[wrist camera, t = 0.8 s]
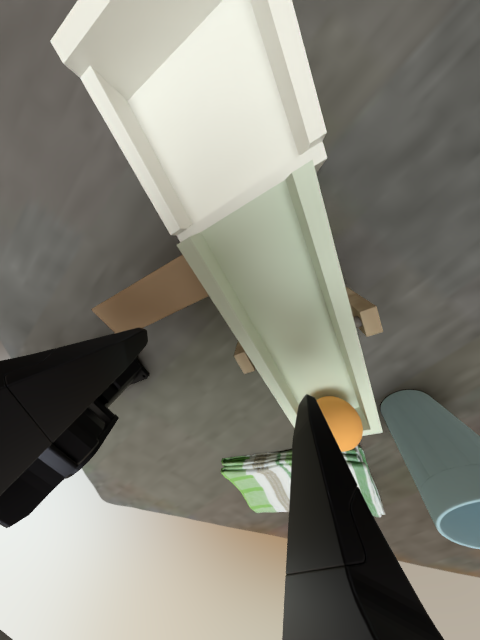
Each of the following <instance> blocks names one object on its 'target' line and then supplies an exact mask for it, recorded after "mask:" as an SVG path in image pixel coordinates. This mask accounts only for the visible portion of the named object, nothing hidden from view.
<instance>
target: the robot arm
mask: <svg viewBox="0 0 480 640" xmlns="http://www.w3.org/2000/svg"><path fill="white" fill-rule="evenodd" d="M147 342H148V338H147V331H146V330H145V329H143V328H140V327H138V328H134V329H130V330H126V331H122V332H118V333H114V334H111V335H107V336H103V337H99V338H95V339H91V340H87V341H83V342H79V343H75V344H71V345H67V346H63V347H59V348H57V349H56V348H55V349H51V350H47V351H43V352H39V353H35V354H31V355H26V356H22V357H17V358H12V359H8V360H3V361H0V525H2V526H4V527H6V528H7V527H10V526H12V525H13V524H15V523H17V522H18V521H20V520H21V519H23V518H25V517H26V516H28V515H29V514H30V513H31V512H32V511H33V510H34V509H35V508H36V507H37V506H38V505H39V504H40V502H41V501H42V500H43V499H44V498H45V497H46V496H47V495H48V494H49V493H50V492H51V491H52V490H53V489H54V488H55V487H56V486H57V485H58V484H59V483H60V482H61V481H62V480H64V479H65V478H69V477H70V476H72V475H74V474H75V473H76V472H77V471H79V470H80V469H81V468H82V467H83V466H84V465H85V464H86V463H87V462H88V461H89V460H90V459H91V458H92V457H93V456H94V455H95V453H96V452H97V451H98V449H99V448H100V446H101V445H102V443H103V442H104V440H105V439H106V437H107V435H108V434H109V432H110V431H111V429H112V428H113V426H114V425H115V423H116V421H117V420H118V418H119V417H118V416H117V415H114V414H113V413H112V412H111V411H110V410H109V409H108V407H109V406H110V405H111V404H112V403H113V402H114V400H115V399H116V398H117V397H118V396H119V395H120V394H121V393H122V392H123V391H124V390H125V389H126V388H127V387H128V386H129V385H130V384H133V383H136V382H139V381H142V380H144V379H147V378H148V376H149V374H148V373H147V371H146V370H145V369H144V368H143V366H142V365H141V364H140V363H139V361H138V360H137V359H136V357H137V356H138V354H139V353H140V352H141V351H142V349H143V348H144V347H145V346H146V344H147ZM287 545H288V546H287V563H286V574H287V575H286V581H285V600H284V619H283V638H282V639H283V640H444V639H443V637H442V636H441V634H440V633H439V631H438V630H437V628H436V627H435V625H434V624H433V622H432V620H431V619H430V617H429V615H428V614H427V612H426V610H425V609H424V607H423V605H422V604H421V602H420V600H419V598H418V596H417V595H416V593H415V591H414V589H413V588H412V586H411V584H410V582H409V581H408V579H407V577H406V575H405V573H404V572H403V570H402V568H401V566H400V564H399V563H398V561H397V559H396V557H395V555H394V554H393V552H392V550H391V548H390V547H389V545H388V543H387V541H386V539H385V537H384V536H383V534H382V532H381V530H380V528H379V526H378V525H377V523H376V521H375V519H374V517H373V515H372V513H371V511H370V509H369V507H368V505H367V503H366V501H365V499H364V497H363V495H362V493H361V491H360V489H359V487H357V483H356V481H355V479H354V477H353V475H352V473H351V471H350V469H349V466H348V464H347V462H346V460H345V458H344V456H343V454H342V452H341V450H340V448H339V446H338V444H337V442H336V440H335V438H334V436H333V434H332V432H331V429H330V427H329V425H328V423H327V421H326V419H325V417H324V415H323V413H322V411H321V409H320V407H319V405H318V403H317V401H316V399H315V397H313V396H310V395H308V394H306V395H305V396H304V397H303V399H302V400H301V402H300V404H299V406H298V411H297V417H296V423H295V429H294V435H293V445H292V465H291V484H290V504H289V523H288V543H287ZM0 640H12V639H11V638H10V637H9V636H7V635H6V634H5V633H4V632H2V631H1V630H0Z"/></svg>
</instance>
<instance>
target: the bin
mask: <svg viewBox="0 0 480 640" xmlns="http://www.w3.org/2000/svg"><path fill="white" fill-rule="evenodd" d="M50 42H51V43H52V45H53V47H54V48H55V50H56V52H57V54H58V55H59V57H60V59H61V60H62V62H63V64H64V65H65V66H67V67H68V68H69V69H70V70H71V71H73V72H74V73H75V74H76V75H77V76H79V77H80V79H81V80H82V82H83V84H84V86H85V87H86V89H87V91H88V93H89V94H90V96H91V98H92V99H93V101H94V103H95V105H96V106H97V108H98V110H99V112H100V113H101V115H102V117H103V119H104V120H105V122H106V124H107V126H108V127H109V129H110V131H111V132H112V134H113V136H114V138H115V139H116V141H117V143H118V145H119V146H120V148H121V150H122V152H123V153H124V155H125V157H126V159H127V160H128V162H129V164H130V165H131V167H132V169H133V171H134V172H135V174H136V176H137V178H138V179H139V181H140V183H141V185H142V186H143V188H144V190H145V192H146V193H147V195H148V197H149V199H150V200H151V202H152V204H153V205H154V207H155V209H156V211H157V212H158V214H159V216H160V218H161V219H162V221H163V223H164V225H165V226H166V228H167V230H168V232H169V233H170V235H177V237H178V239H179V241H180V242H182V241H184V240H185V239H187V238H188V237H190V236H193V235H195V234H198V233H200V232H202V231H203V230H205V229H207V228H208V227H210V226H212V225H213V224H215V223H216V222H218V221H220V220H221V219H223V218H224V217H226V216H228V215H229V214H231V213H232V212H234V211H236V210H237V209H239V208H240V207H242V206H244V205H245V204H247V203H248V202H250V201H252V200H253V199H255V198H256V197H258V196H260V195H261V194H263V193H264V192H266V191H268V190H269V189H271V188H272V187H274V186H276V185H277V184H279V183H281V182H282V181H284V180H285V179H286V178H287V177H288V176H289V175H290V174H291V173H292V172H293V171H295V170H297V169H298V168H300V167H301V166H303V165H305V164H306V163H308V162H309V161H311V160H312V159H313V163H314V167H315V171H316V173H317V172H318V170H319V169H320V168H321V166H322V165H323V163H324V162H325V161H326V159H327V156H326V152H325V148H324V145H323V139H324V137H325V135H326V133H327V131H326V128H325V124H324V120H323V116H322V113H321V109H320V105H319V101H318V97H317V94H316V90H315V86H314V82H313V79H312V75H311V71H310V67H309V63H308V60H307V56H306V52H305V48H304V45H303V41H302V37H301V33H300V29H299V26H298V22H297V18H296V14H295V11H294V7H293V3H292V0H78V1H77V3H76V4H75V5H74V7H73V8H72V10H71V11H70V13H69V14H68V16H67V17H66V19H65V20H64V22H63V23H62V25H61V26H60V28H59V29H58V31H57V32H56V34H55V35H54V36H53V38H52V39H51V41H50Z"/></svg>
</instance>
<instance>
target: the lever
mask: <svg viewBox="0 0 480 640" xmlns="http://www.w3.org/2000/svg"><path fill="white" fill-rule="evenodd" d="M177 247H178V248H179V250H180V251H181V253H182V255H181V256H179V257H178V258H176V259H174V260H173V261H171V262H169V263H168V264H166V265H164V266H163V267H161V268H159V269H158V270H156V271H154V272H153V273H151V274H149V275H148V276H146V277H144V278H142V279H141V280H139V281H137V282H136V283H134V284H132V285H131V286H129V287H127V288H126V289H124V290H122V291H121V292H119V293H117V294H116V295H114V296H112V297H111V298H109V299H107V300H106V301H104V302H102V303H101V304H99V305H97V306H96V307H94V308H93V309H91V310H92V311H93V312H94V313H95V314H96V315H97V316H98V317H99V318H100V319H101V320H102V321H103V322H104V323H105V324H106V325H107V326H109V327H110V328H111V329H112V330H113V331H114V332H115V333H118V332H122V331H126V330H130V329H134V328H138V327H140V328H143V327H145V326H148V325H150V324H152V323H154V322H156V321H158V320H160V319H162V318H164V317H166V316H168V315H170V314H172V313H174V312H176V311H179V310H181V309H183V308H185V307H187V306H189V305H191V304H193V303H195V302H197V301H199V300H201V299H203V298H205V297H207V296H210V298H211V299H212V301H213V303H214V304H215V306H216V307H217V309H218V310H219V312H220V313H221V315H222V316H223V318H224V320H225V321H226V323H227V324H228V326H229V327H230V329H231V330H232V332H233V333H234V335H235V337H236V338H237V340H238V341H239V343H240V344H241V346H242V347H243V349H244V350H245V352H246V354H247V355H248V357H249V358H250V360H251V361H252V363H253V364H254V366H255V368H256V369H257V371H258V372H259V374H260V375H261V377H262V378H263V380H264V381H265V383H266V385H267V386H268V388H269V389H270V391H271V392H272V394H273V395H274V397H275V398H276V400H277V402H278V403H279V405H280V406H281V408H282V409H283V411H284V412H285V414H286V415H287V417H288V419H289V420H290V422H291V423H292V425H293V426H294V428H295V423H296V417H297V411H298V406H299V404H300V402H301V400H302V399H303V397H304V396H305V395H306V394H308V395H310V396H313V397H315V399H316V400H318V399H319V398H321V397H325V396H334V397H338V398H341V399H343V400H345V401H346V402H348V403H349V404H350V405H351V406H352V407H353V408H354V409H355V410H356V411H357V413H358V415H359V417H360V419H361V422H362V426H363V434H362V436H364V435H371V434H377V433H383V431H382V428H381V424H380V420H379V416H378V412H377V408H376V404H375V400H374V396H373V393H372V389H371V385H370V381H369V377H368V373H367V369H366V365H365V361H364V358H363V354H362V350H361V346H360V342H359V338H358V334H357V330H356V327H355V323H354V319H353V315H352V311H351V307H350V303H349V299H348V295H347V292H346V288H345V284H344V280H343V276H342V272H341V268H340V264H339V260H338V257H337V253H336V249H335V245H334V241H333V237H332V233H331V229H330V225H329V222H328V218H327V214H326V210H325V206H324V202H323V198H322V194H321V191H320V187H319V183H318V179H317V175H316V171H315V167H314V163H313V159H312V160H311V161H309V162H308V163H306V164H305V165H303V166H301V167H300V168H298V169H297V170H295V171H293V172H292V173H291V174H290V175H289V176H288V177H287V178H286V179H285V180H284V181H282V182H281V183H279V184H277V185H276V186H274V187H272V188H271V189H269V190H268V191H266V192H264V193H263V194H261V195H260V196H258V197H256V198H255V199H253V200H252V201H250V202H248V203H247V204H245V205H244V206H242V207H240V208H239V209H237V210H236V211H234V212H232V213H231V214H229V215H228V216H226V217H224V218H223V219H221V220H220V221H218V222H216V223H215V224H213V225H212V226H210V227H208V228H207V229H205V230H203V231H202V232H200V233H198V234H195V235H193V236H190V237H188V238H187V239H185V240H184V241H182V242H180V243H179V244H177Z"/></svg>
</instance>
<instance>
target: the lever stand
mask: <svg viewBox="0 0 480 640" xmlns="http://www.w3.org/2000/svg"><path fill="white" fill-rule="evenodd" d="M345 288H346V292H347V295H348V299H349V303H350V307H351V311H352V315H353V319H354V323H355V327H356V328H359V329H360V330H361V331H362V332H363V333H364V334H365V335H366V336H367V337H368V336H371V335H374V334H377V333H381V332H383V330H382V326H381V322H380V318H379V314H378V310H377V306H375V305H374V304H372V303H370V302H369V301H367V300H366V299H364V298H363V297H361V296H360V295H358V294H356V293H355V292H353V291H352V290H350V289H349V288H347V287H346V286H345ZM234 357H235V359H236V361H237V362H238V364H239V366H240V367H241V369H242V371H243V372H244V374H246V373H249V372H252V371H255V366H254V364H253V363H252V361H251V360H250V358H249V357H248V355H247V354H246V352H245V350H244V349H243V347H242V346H241V344H240V343H239V341H238V343H237V346H236V350H235V353H234Z"/></svg>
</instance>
